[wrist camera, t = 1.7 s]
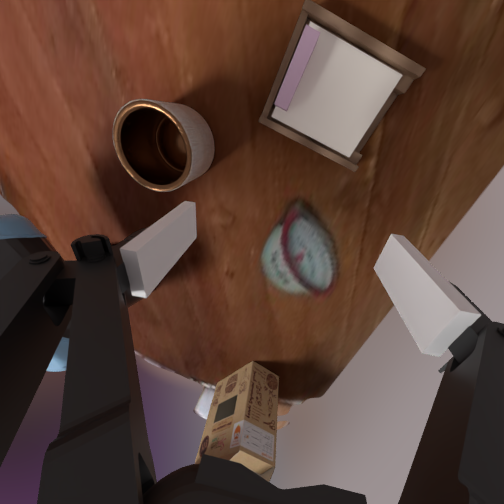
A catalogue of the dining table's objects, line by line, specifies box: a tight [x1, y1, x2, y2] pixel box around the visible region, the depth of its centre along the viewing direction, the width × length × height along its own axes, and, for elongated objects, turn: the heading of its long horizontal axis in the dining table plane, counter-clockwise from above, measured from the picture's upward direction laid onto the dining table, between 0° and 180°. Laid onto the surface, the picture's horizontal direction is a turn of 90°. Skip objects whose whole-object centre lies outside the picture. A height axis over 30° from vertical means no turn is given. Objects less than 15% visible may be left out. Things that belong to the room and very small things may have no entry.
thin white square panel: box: [271, 21, 402, 157], centre depth 25 cm, size 12×10×4 cm
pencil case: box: [258, 0, 426, 172], centre depth 28 cm, size 15×12×4 cm
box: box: [195, 361, 279, 482], centre depth 57 cm, size 21×20×30 cm
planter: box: [113, 99, 215, 192], centre depth 31 cm, size 11×11×10 cm
